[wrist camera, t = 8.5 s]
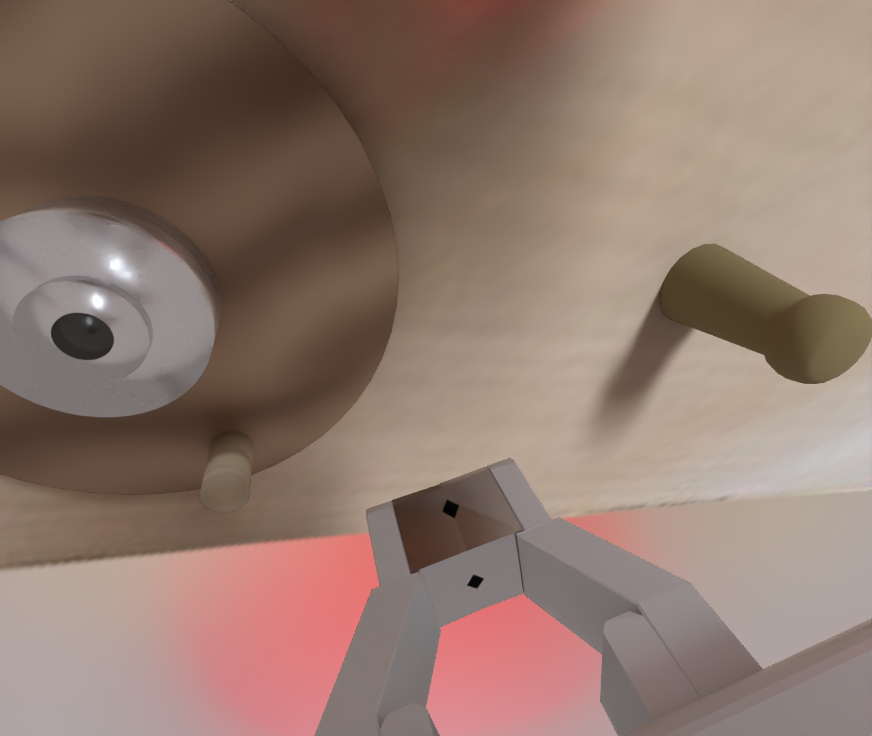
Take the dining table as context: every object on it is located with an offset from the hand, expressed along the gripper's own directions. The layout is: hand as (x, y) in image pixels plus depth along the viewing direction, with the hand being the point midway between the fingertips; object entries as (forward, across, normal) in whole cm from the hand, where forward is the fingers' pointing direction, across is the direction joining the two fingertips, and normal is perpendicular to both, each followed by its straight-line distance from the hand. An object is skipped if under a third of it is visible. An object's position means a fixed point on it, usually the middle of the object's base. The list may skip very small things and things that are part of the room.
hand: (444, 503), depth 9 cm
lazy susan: (+19, +10, -1) cm, 22 cm away
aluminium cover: (+17, +11, -1) cm, 21 cm away
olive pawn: (+20, -24, +10) cm, 33 cm away
